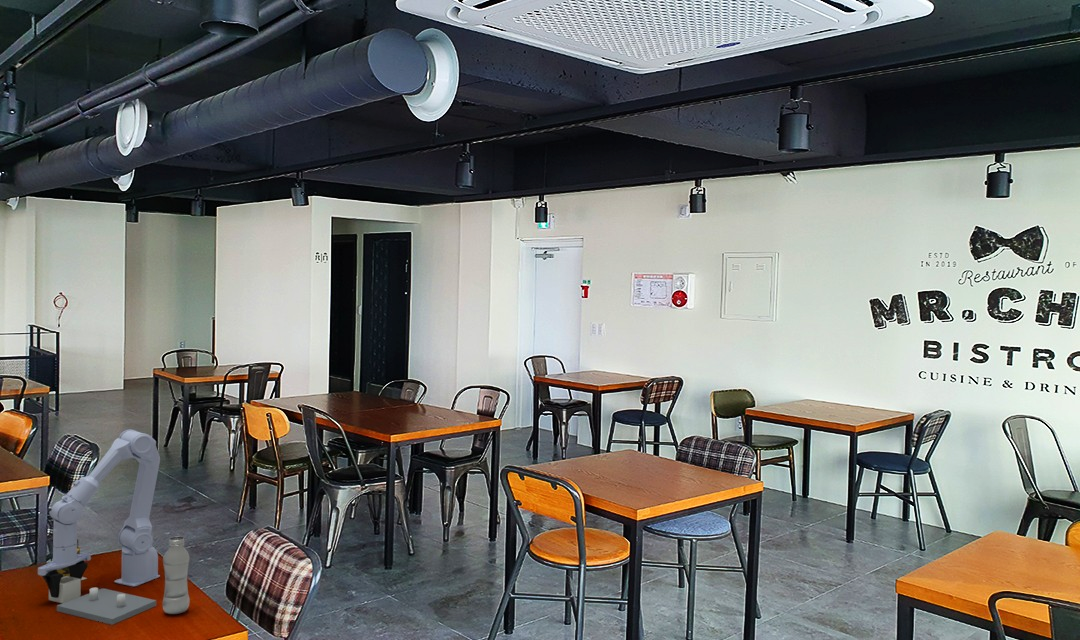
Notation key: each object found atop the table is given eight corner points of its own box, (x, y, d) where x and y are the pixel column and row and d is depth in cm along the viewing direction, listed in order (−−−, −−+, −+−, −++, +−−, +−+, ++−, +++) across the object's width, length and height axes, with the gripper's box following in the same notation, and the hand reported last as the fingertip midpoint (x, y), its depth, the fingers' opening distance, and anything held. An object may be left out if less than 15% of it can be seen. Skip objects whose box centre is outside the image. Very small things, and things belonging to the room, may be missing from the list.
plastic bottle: (179, 618, 215) (180, 543, 214) (156, 615, 217) (157, 540, 216) (194, 609, 222) (195, 536, 221) (172, 606, 223) (173, 533, 222)
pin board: (102, 593, 230) (102, 577, 230) (156, 605, 223) (156, 589, 223) (56, 611, 217) (56, 594, 217) (112, 624, 210) (112, 607, 210)
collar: (66, 593, 230) (66, 575, 229) (80, 596, 228) (80, 578, 227) (48, 599, 225) (48, 581, 224) (62, 603, 223) (62, 585, 222)
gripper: (78, 535, 234) (77, 582, 234) (30, 549, 220) (29, 599, 221) (96, 538, 231) (95, 586, 232) (48, 553, 218) (48, 604, 218)
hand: (64, 593), depth 226 cm, fingers closed on collar, 5 cm apart
